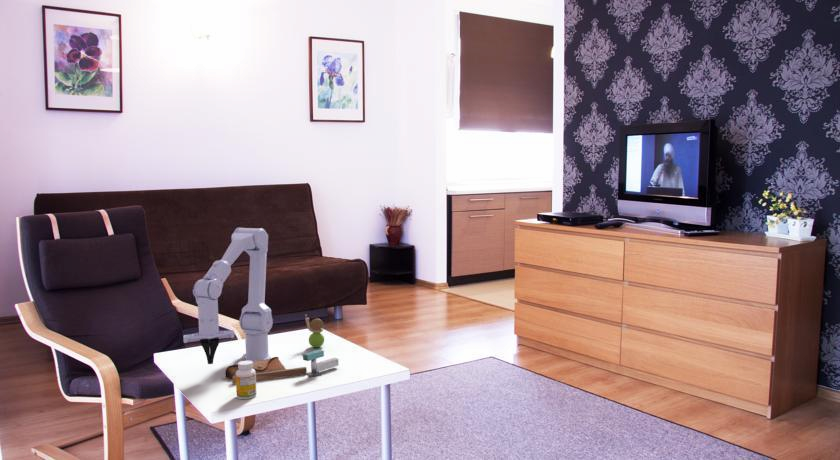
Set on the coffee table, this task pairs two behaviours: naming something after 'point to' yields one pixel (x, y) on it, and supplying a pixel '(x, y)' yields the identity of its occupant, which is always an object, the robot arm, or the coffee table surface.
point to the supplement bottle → (245, 380)
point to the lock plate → (313, 374)
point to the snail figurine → (315, 332)
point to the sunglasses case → (258, 367)
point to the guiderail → (278, 374)
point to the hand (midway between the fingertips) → (210, 363)
